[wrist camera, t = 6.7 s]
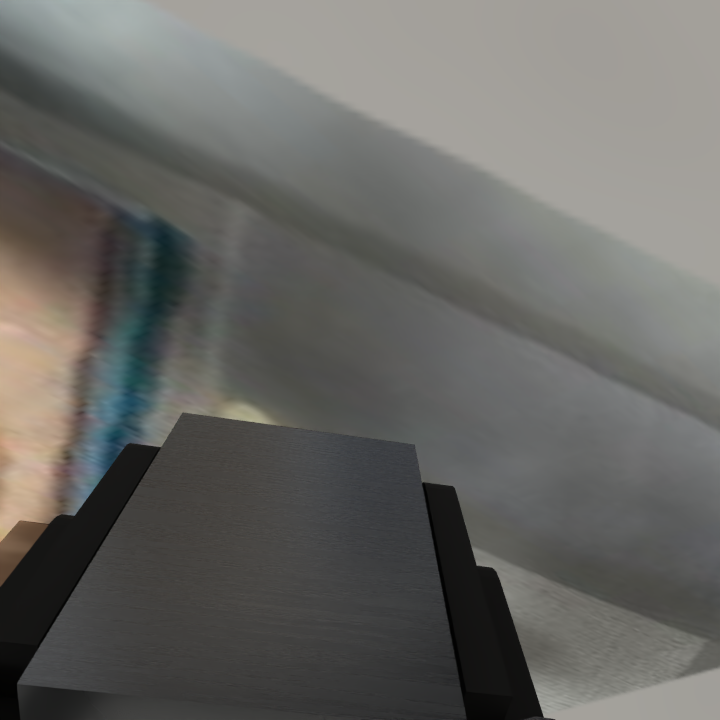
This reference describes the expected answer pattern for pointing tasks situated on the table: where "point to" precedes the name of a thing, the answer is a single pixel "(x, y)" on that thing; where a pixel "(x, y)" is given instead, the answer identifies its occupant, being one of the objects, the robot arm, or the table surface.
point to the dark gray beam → (257, 589)
